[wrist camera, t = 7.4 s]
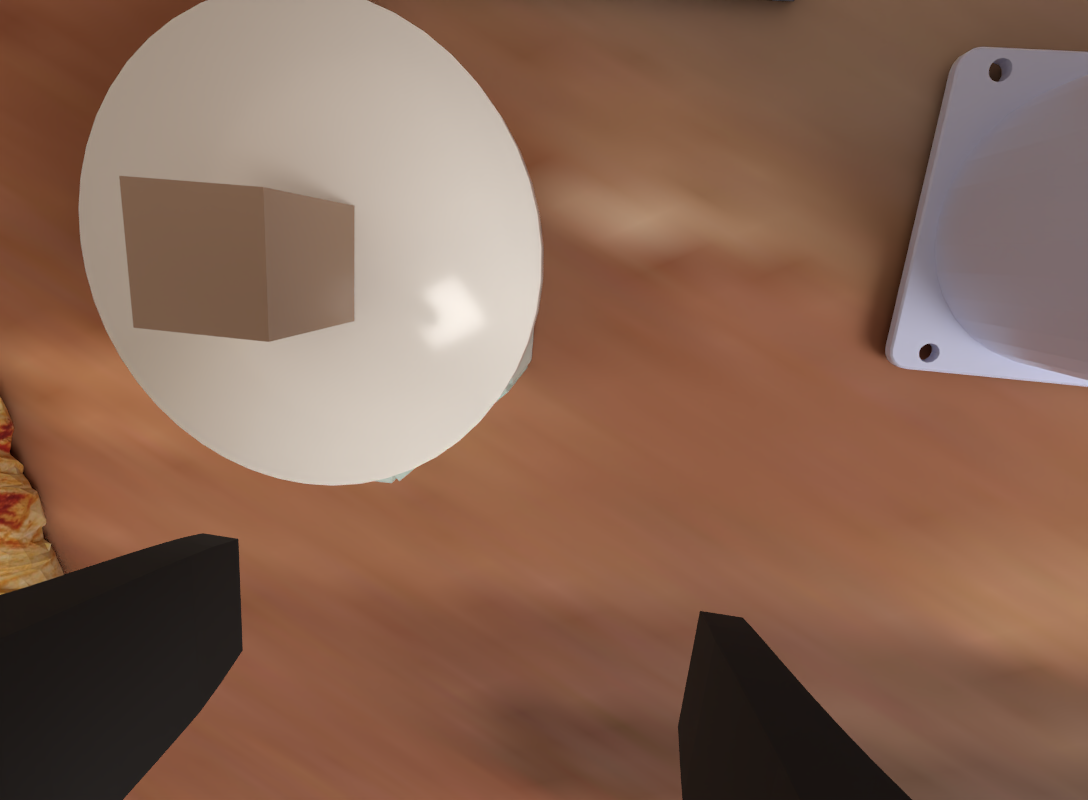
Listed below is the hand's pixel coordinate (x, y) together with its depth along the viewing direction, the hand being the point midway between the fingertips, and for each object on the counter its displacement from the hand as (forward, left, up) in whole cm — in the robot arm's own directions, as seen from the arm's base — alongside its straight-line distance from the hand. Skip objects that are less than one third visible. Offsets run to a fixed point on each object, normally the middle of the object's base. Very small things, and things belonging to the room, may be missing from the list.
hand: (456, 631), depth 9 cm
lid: (+5, -5, -6) cm, 10 cm away
